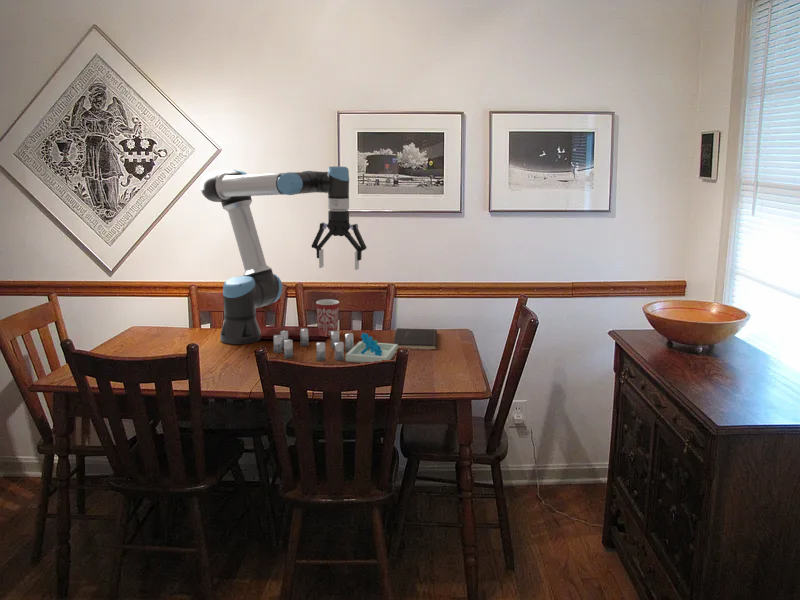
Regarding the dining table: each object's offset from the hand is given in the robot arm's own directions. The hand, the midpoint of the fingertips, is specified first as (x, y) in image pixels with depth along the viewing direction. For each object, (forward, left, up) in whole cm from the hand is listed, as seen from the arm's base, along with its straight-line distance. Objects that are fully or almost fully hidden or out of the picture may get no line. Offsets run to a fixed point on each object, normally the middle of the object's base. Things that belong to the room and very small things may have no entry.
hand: (339, 268), depth 264 cm
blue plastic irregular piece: (+16, -12, -28) cm, 35 cm away
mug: (-8, +12, -29) cm, 32 cm away
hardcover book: (+27, +12, -29) cm, 42 cm away
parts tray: (+16, -12, -29) cm, 35 cm away
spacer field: (-6, -13, -29) cm, 32 cm away
